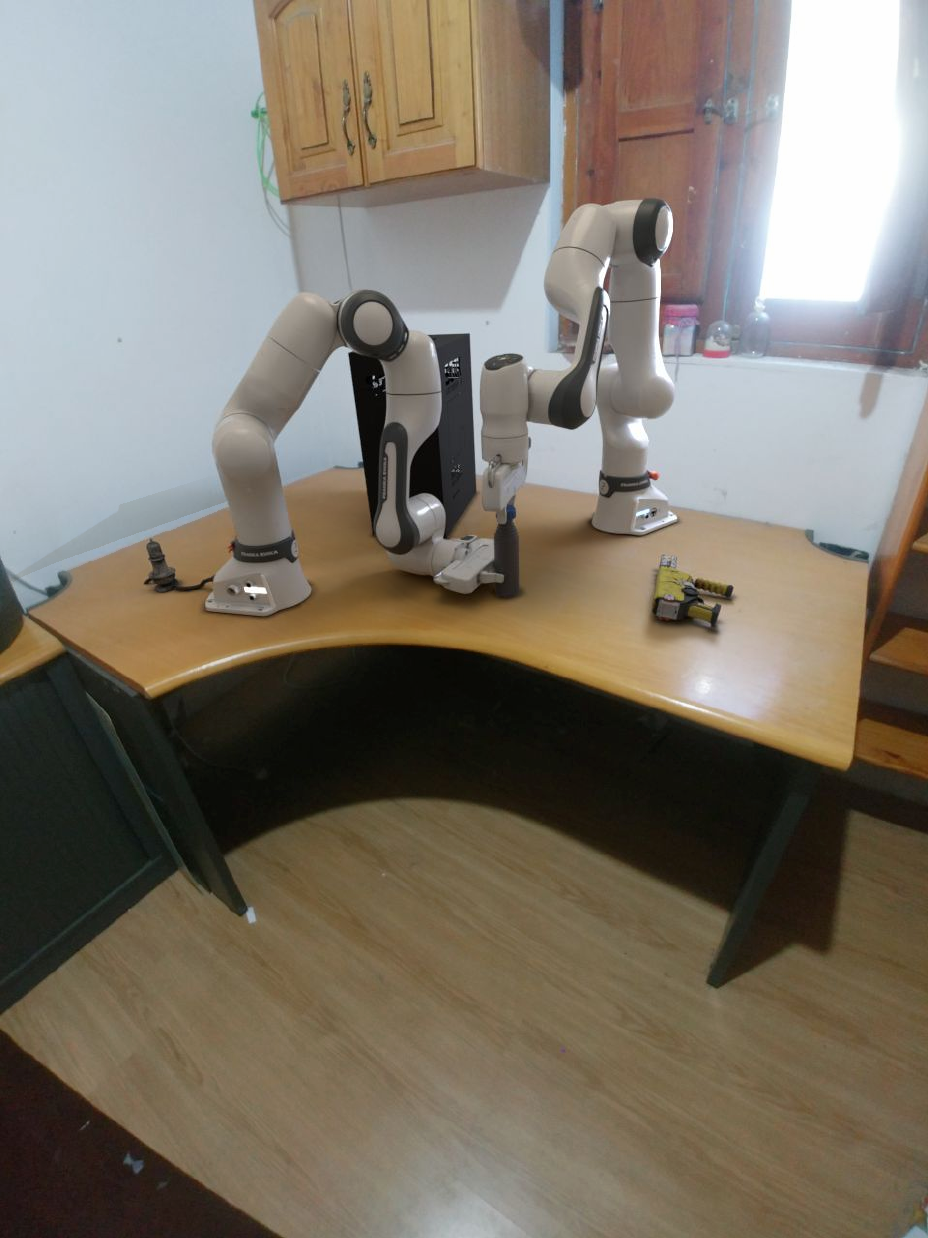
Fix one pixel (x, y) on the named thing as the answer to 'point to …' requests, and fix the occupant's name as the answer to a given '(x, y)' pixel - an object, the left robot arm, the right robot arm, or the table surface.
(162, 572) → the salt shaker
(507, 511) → the cap
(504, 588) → the bottle
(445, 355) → the black boxy piece
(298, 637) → the table surface
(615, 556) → the table surface
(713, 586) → the toy gun
